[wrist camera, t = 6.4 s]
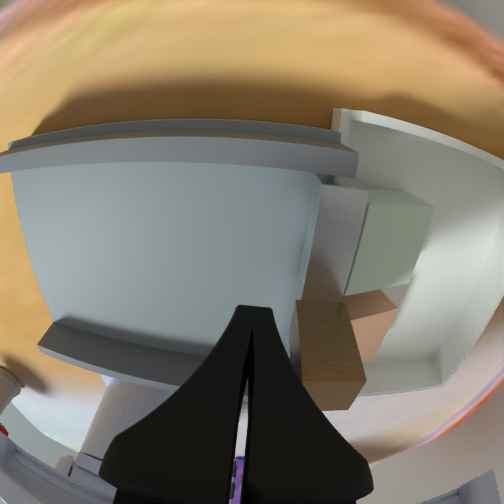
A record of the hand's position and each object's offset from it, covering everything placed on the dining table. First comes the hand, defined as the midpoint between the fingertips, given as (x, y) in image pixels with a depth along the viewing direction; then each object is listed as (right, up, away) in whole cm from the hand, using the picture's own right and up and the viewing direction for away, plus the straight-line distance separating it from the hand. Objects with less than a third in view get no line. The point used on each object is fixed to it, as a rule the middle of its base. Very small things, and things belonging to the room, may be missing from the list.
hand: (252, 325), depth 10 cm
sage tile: (+5, +4, +2) cm, 7 cm away
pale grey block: (+3, +1, +2) cm, 3 cm away
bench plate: (-6, +3, +4) cm, 8 cm away
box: (+9, +2, +4) cm, 10 cm away
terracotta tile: (+5, -1, +5) cm, 7 cm away
